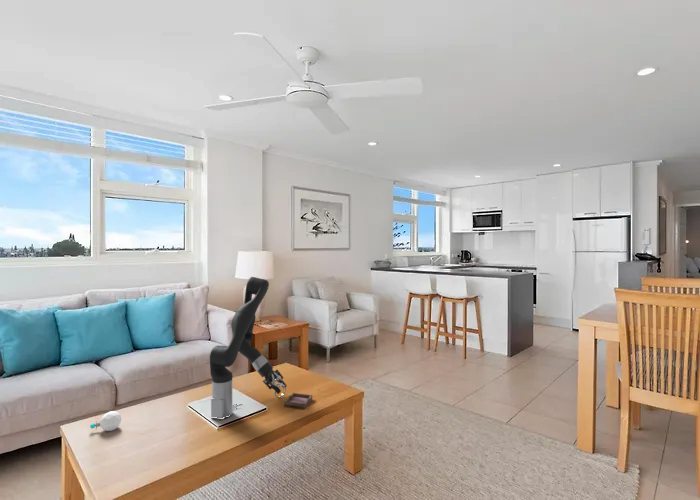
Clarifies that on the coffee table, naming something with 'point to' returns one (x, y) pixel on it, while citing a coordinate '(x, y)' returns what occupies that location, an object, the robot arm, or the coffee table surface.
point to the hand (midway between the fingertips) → (282, 389)
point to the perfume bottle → (108, 421)
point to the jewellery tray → (298, 400)
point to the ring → (283, 390)
